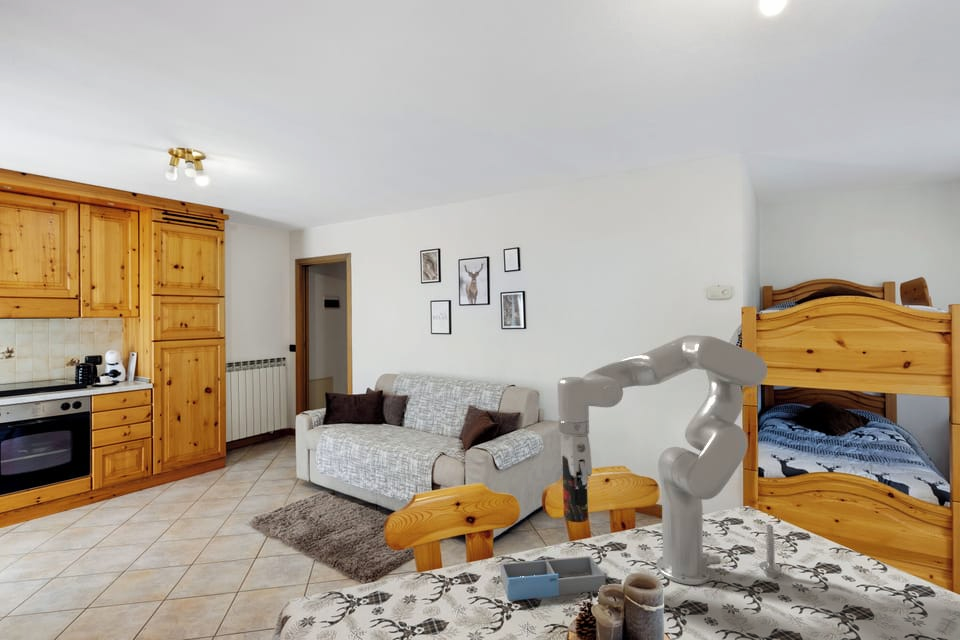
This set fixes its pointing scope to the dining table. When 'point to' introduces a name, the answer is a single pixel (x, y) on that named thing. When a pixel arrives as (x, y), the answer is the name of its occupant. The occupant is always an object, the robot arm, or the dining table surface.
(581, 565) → the two-compartment tray
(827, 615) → the dining table surface
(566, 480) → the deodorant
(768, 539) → the screw
